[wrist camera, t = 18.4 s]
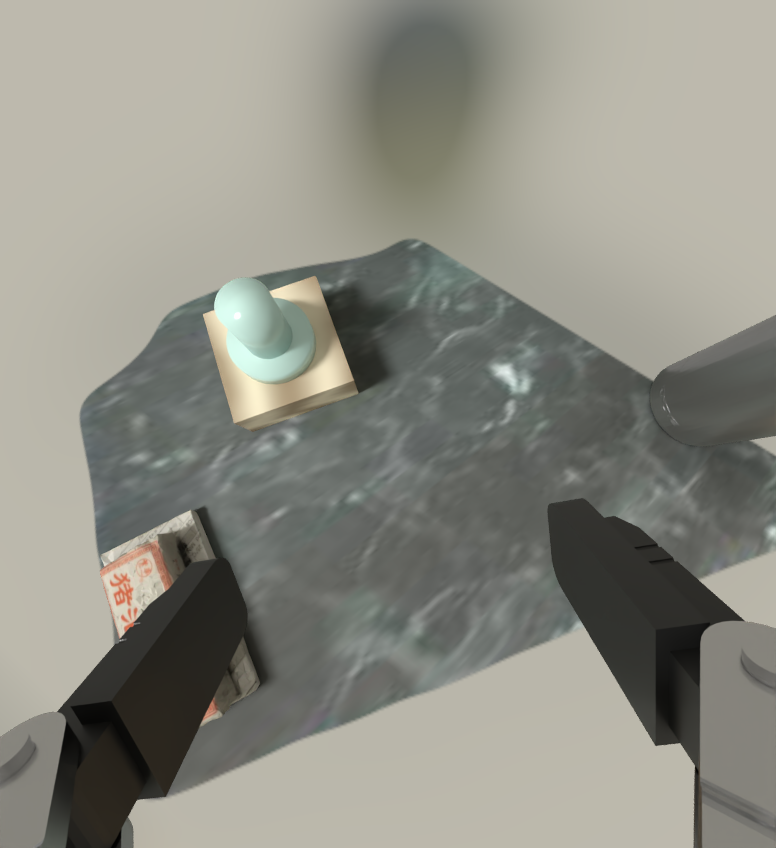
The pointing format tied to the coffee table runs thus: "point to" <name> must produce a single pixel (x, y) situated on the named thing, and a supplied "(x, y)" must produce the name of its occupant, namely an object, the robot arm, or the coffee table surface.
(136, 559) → the packaged product
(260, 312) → the mint green knob
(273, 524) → the coffee table surface
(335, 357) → the block
